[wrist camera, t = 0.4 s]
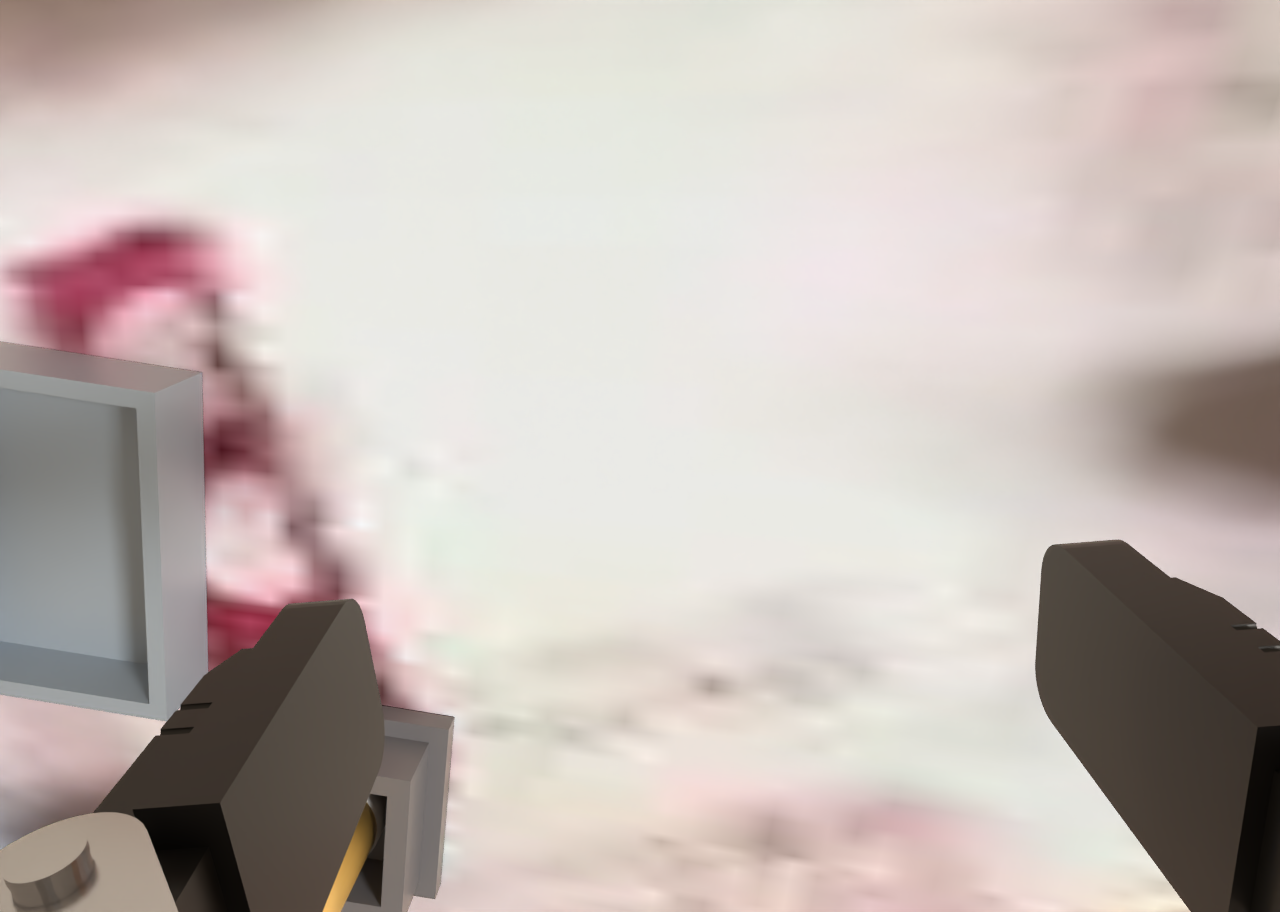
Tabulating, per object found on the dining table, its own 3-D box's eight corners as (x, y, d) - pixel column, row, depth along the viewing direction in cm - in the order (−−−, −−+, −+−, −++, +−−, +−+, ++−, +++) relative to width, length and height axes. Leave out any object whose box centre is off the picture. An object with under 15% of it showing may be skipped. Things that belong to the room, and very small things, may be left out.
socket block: (247, 684, 35) (205, 731, 32) (454, 717, 34) (431, 768, 32) (247, 852, 37) (209, 910, 34) (440, 884, 37) (418, 944, 34)
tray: (-58, 332, 31) (-129, 349, 28) (201, 372, 31) (154, 393, 28) (-23, 641, 35) (-83, 681, 32) (208, 677, 35) (166, 721, 32)
